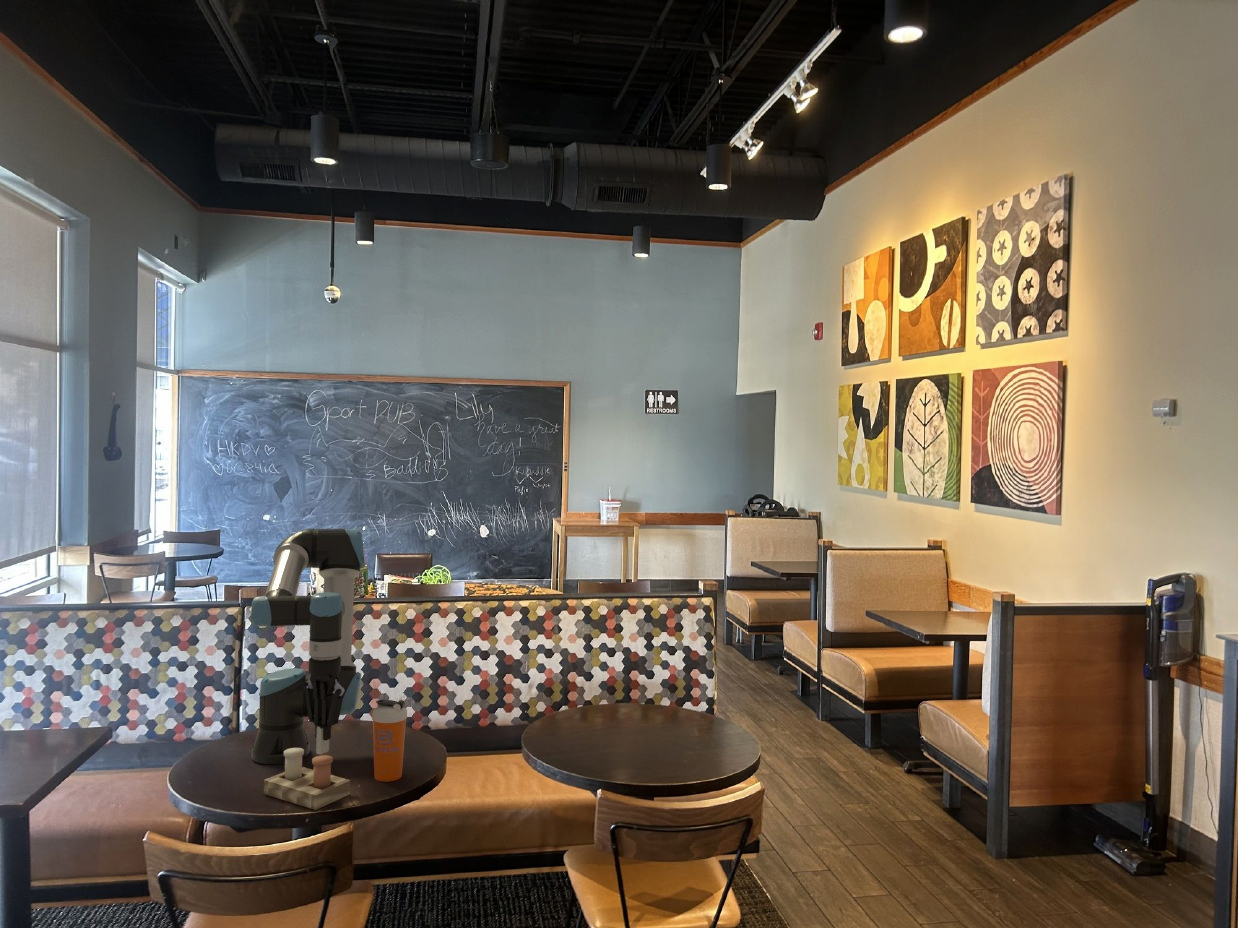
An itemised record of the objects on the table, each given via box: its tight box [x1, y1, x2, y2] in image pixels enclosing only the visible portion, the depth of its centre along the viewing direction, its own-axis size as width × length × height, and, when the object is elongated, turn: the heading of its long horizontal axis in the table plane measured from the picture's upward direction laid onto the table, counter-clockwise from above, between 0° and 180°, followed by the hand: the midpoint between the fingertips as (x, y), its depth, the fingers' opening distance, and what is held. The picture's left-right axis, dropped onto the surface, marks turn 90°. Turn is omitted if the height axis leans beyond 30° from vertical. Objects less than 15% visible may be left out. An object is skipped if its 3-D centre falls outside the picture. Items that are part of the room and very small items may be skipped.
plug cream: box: [284, 748, 304, 781], centre depth 213 cm, size 5×5×7 cm
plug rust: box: [311, 754, 334, 789], centre depth 209 cm, size 5×5×7 cm
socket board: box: [263, 766, 351, 811], centre depth 211 cm, size 18×11×4 cm, turn 62°
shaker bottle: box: [371, 698, 408, 783], centre depth 224 cm, size 9×9×20 cm
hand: (322, 751), depth 208 cm, fingers closed
